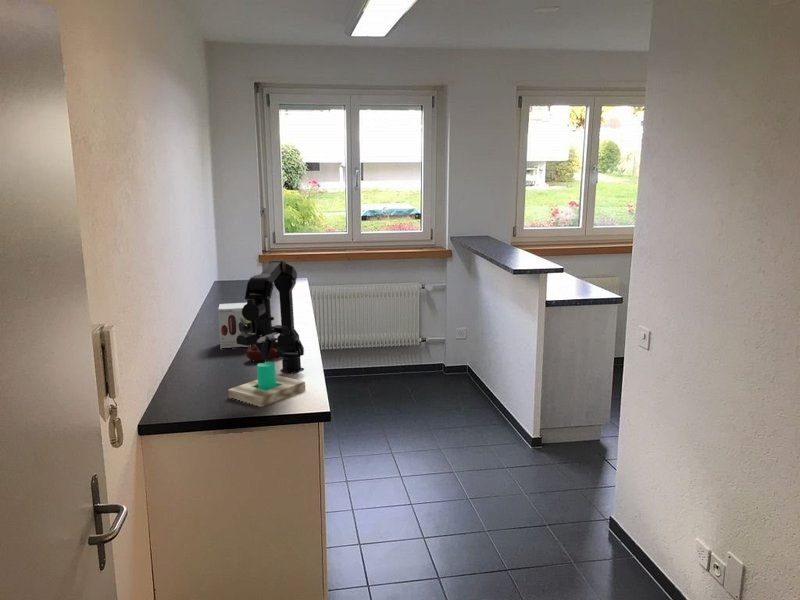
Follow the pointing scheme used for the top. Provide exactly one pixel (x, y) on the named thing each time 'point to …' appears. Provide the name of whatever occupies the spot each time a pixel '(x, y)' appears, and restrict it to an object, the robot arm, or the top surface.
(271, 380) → the candle
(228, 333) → the supplement box
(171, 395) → the top surface
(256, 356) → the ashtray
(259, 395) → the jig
